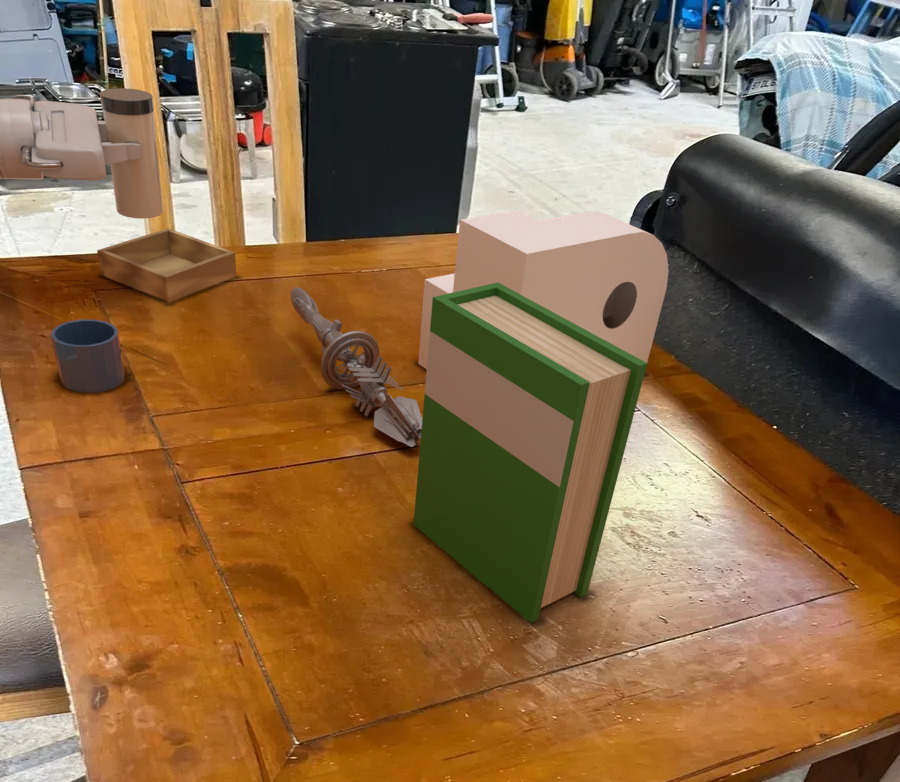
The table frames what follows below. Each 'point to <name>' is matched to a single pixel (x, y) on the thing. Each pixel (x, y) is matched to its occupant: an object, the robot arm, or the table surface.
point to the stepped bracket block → (564, 272)
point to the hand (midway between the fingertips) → (139, 142)
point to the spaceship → (361, 373)
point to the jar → (135, 122)
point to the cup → (88, 355)
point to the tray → (167, 264)
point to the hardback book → (521, 443)
